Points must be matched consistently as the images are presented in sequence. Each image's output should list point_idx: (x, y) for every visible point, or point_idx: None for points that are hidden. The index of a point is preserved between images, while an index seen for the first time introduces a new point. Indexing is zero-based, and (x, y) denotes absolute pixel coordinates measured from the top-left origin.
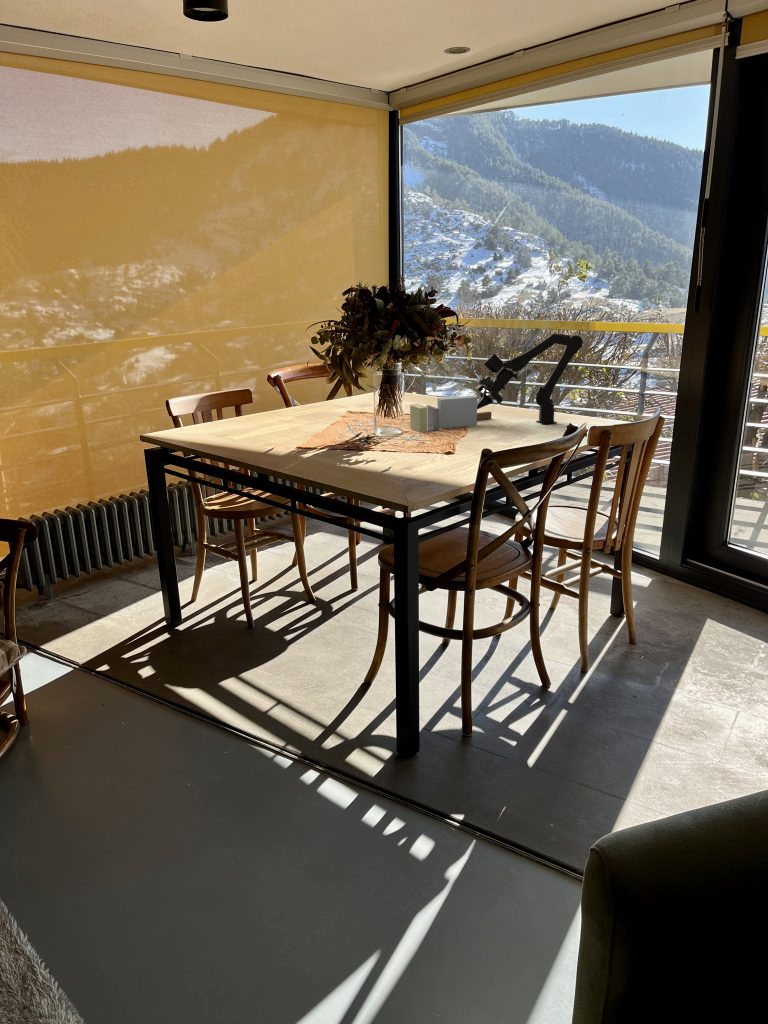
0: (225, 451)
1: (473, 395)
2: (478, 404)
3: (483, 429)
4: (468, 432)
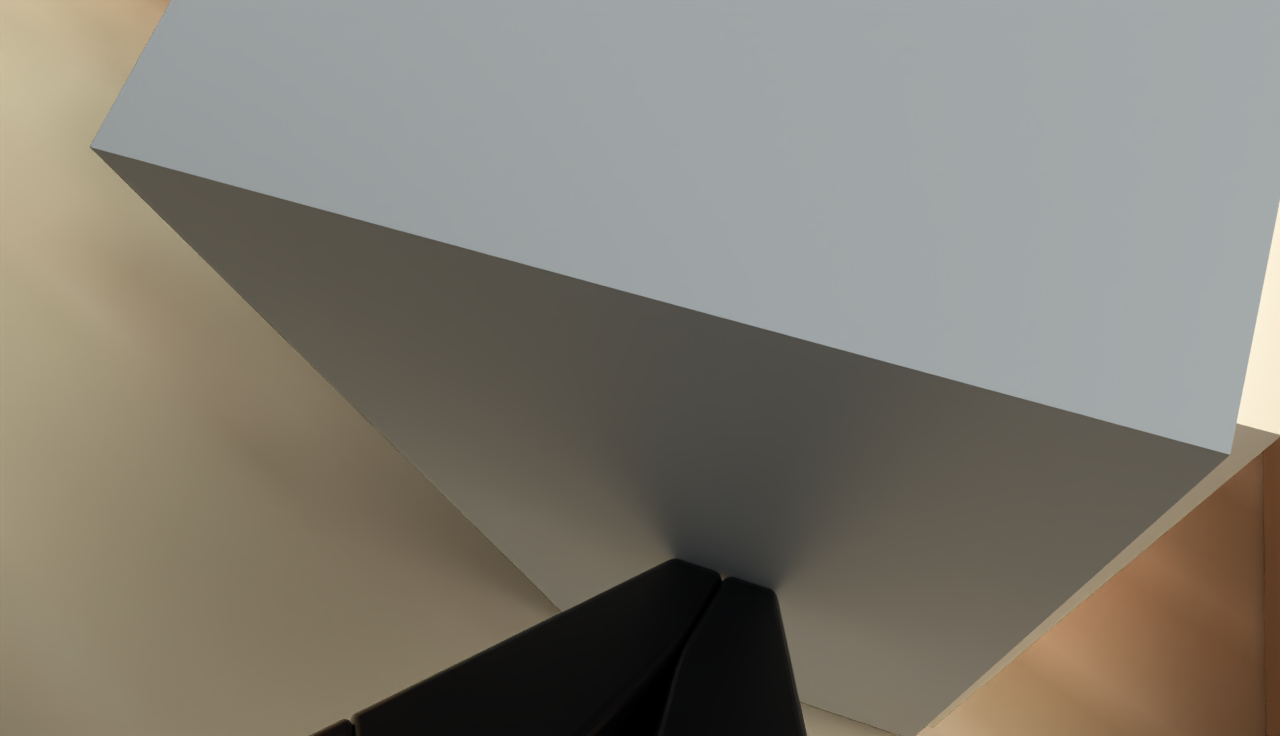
0: None
1: (1198, 432)
2: (495, 647)
3: (97, 471)
4: (149, 10)
